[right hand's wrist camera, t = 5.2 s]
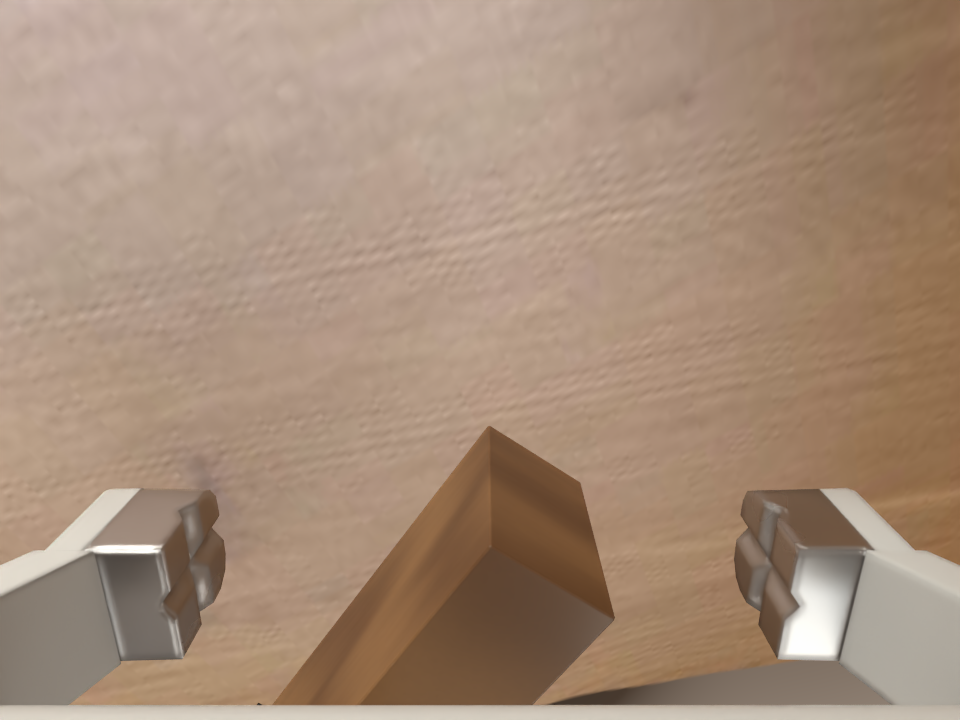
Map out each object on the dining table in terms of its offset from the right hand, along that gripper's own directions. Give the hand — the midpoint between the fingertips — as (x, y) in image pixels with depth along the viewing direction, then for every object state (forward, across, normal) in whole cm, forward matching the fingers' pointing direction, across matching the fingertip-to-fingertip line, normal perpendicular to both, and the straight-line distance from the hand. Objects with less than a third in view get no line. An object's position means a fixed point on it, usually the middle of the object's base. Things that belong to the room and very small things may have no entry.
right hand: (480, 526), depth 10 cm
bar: (+15, -4, -17) cm, 23 cm away
